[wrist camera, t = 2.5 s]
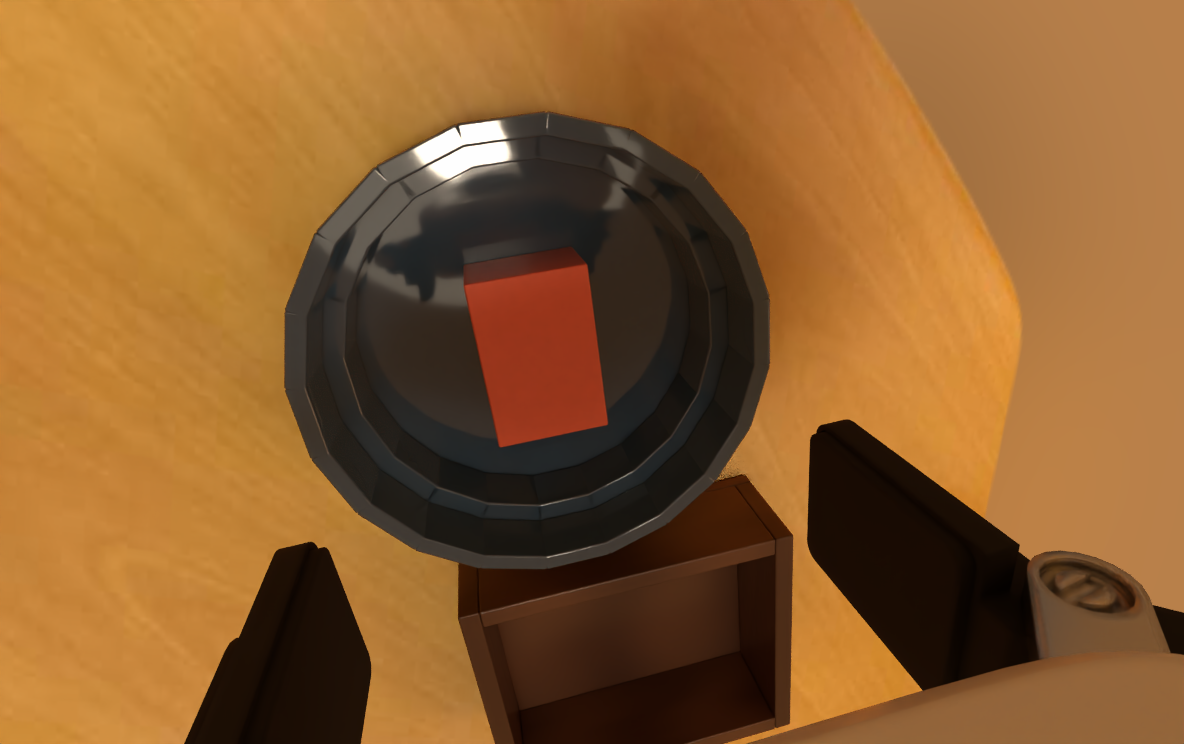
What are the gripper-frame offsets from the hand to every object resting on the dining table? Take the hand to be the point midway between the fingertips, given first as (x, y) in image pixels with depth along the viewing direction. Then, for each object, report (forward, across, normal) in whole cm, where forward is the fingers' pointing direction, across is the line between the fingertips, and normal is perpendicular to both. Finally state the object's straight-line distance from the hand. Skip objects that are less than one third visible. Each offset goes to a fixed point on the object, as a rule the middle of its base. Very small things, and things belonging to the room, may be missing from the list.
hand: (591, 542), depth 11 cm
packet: (+13, 0, 0) cm, 13 cm away
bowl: (+13, 0, 0) cm, 13 cm away
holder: (+13, -2, +15) cm, 20 cm away
